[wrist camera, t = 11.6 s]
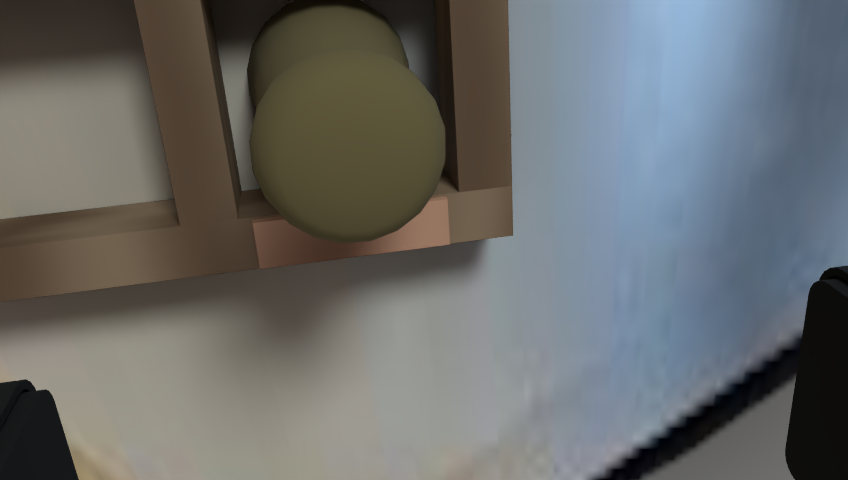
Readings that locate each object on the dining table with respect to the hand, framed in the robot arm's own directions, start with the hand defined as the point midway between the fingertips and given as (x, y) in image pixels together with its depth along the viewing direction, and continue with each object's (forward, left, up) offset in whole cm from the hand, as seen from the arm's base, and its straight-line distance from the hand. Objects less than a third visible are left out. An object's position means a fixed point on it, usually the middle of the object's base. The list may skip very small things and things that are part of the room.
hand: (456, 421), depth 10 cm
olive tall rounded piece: (0, 0, -22) cm, 22 cm away
